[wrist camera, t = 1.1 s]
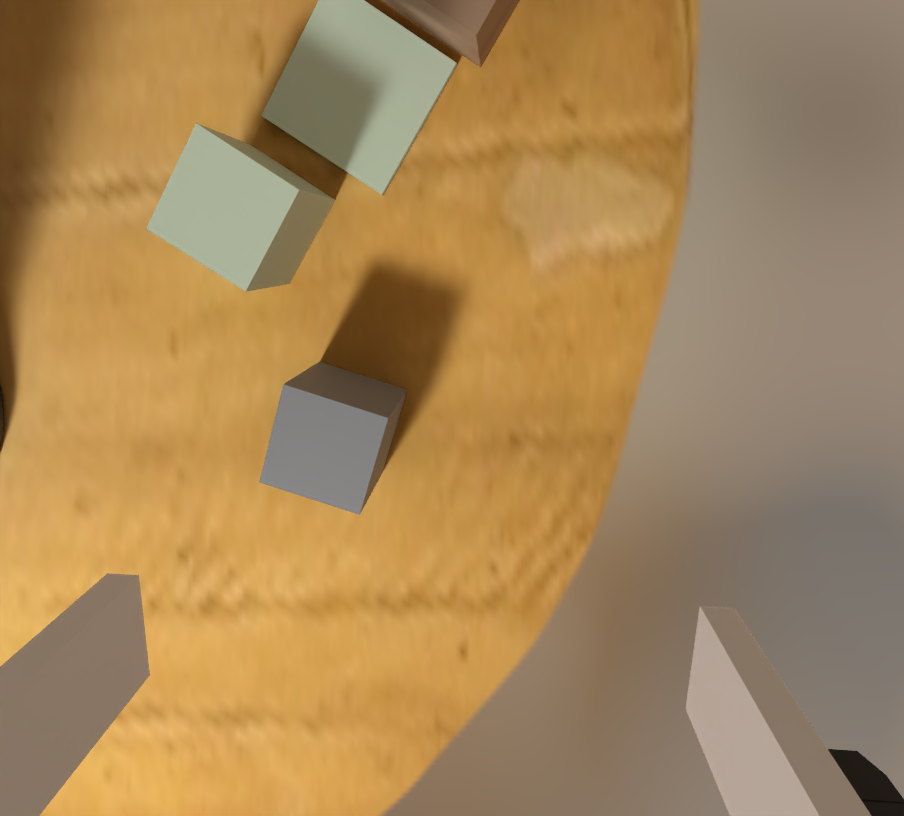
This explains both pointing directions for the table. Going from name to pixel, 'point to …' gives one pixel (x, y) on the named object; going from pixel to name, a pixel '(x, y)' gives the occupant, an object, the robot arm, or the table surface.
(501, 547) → the table surface
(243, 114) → the table surface
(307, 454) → the gray block
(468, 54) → the walnut base
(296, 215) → the sage block
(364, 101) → the tile
